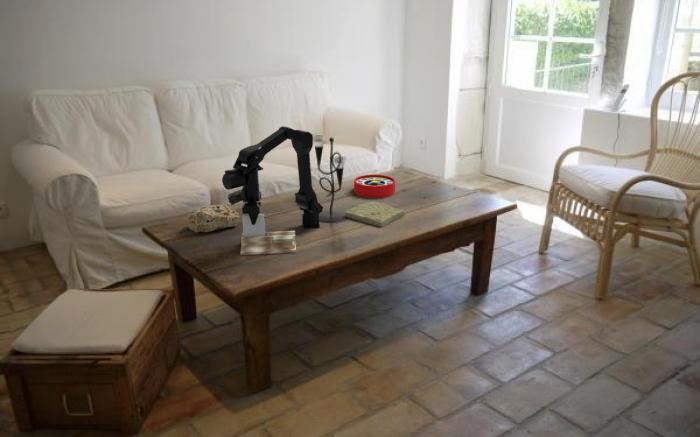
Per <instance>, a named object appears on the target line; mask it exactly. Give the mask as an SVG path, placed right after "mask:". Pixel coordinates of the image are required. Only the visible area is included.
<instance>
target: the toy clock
mask: <svg viewBox="0 0 700 437" xmlns="http://www.w3.org/2000/svg"><path fill="white" fill-rule="evenodd" d="M353 193H354V194H355V195H357V196H359V197H364V198H369V199H370V198H371V199H375V198H376V199H377V198H386V197H391V196H392V195H393V196H394V194H395V193H396V179H395V178H394V177H392V176H389V175H385V174H364V175H360V176H356V177H355V178H354V179H353Z"/></svg>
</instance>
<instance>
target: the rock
mask: <svg viewBox="0 0 700 437" xmlns="http://www.w3.org/2000/svg"><path fill="white" fill-rule="evenodd" d="M187 218H188V230H190V231H192V232H194V233H199V232H202V233H208V232H212V231H218V230H223V229H226V228H232V227H237V226H238V223H239V219H240V213H238V211H236V210H235V209H234V208H233V207H232V206H231V204H223V203H220V204H208V205H203V206H202V205H201V206H199V207H198V208H196V209H195V210H193V211H192V212H191V213H190V214H189V215H188V217H187Z"/></svg>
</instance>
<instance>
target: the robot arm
mask: <svg viewBox="0 0 700 437" xmlns="http://www.w3.org/2000/svg"><path fill="white" fill-rule="evenodd" d="M287 140H290V142H291V145H292V149H293V150H294V152H295V153H296V159H297V160H296V162H297V171H298V172H297V173H298V182H299V189H298V191H297V192H295V193H294V198H295V201H294V202H295V203H296V205H297V206H298V208H299V210H300V211H302V212H303V213H302V214H301V221H302V223H301V224H302V226H303V228H304V229H310V228H311V229H312V228H313V229H314V228H320V227H321V226H320V224H321V223H320V214H321V213H322V212H323V210H324V207H323V205H322V204H320V203H319V202H318V197H317V194H316V191H315V190H314V188H313V183H312V170H311V167H312V166H311V158H310V157H311V155H310V152H311V151H312V149H313V146H314V136H313V134H312V133H311V132H310V131H307V130H301V129H294V128H291V127H288V126H283V125H282V126H280V127H279V128H278V129H277V130H276V131H274V132H273V133H271V134H269V136H267V137H266V138H264V139H262V140H261V141H259V142H258V143H256V144H254V145H249V146H247V147H244V148H242V149H240V151H239V152H238V156H237V158H236V160H235V162H234V164H233V166H232V169H225V170H224V174H223V175H222V179H221V182H222V185H223V187H224V188H225V190H226V191H227V190H228V191H230V190H233V189H234V190H235V189H238V188H241V187H242V188H241V189H238V190H236V191H233V192H231V193H228V195H227V199H228V202H229V203H230V206H234V205H236V204H238V203H240V202H242V203H244V204H243V205H242V207H241V213H242V215H249V217H250V220H251V223H252V225H255V223H256V220H257V217H258V215H259V214H261V206H262V202H261V200H262V192H261V191H260V183H259V182H260V179H259V172H261V171H263V170H264V168H263V167H262V166H261V165H260V163H261V162H263V160H264V159H265V157H266V155H267V154H268V153H270V152H271V151H273V150H274V149H276V148H277V147H278V146H280V145H281V144H282V143H284V142H285V141H287ZM244 165H245V166H244Z"/></svg>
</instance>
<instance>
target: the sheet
mask: <svg viewBox="0 0 700 437" xmlns="http://www.w3.org/2000/svg"><path fill="white" fill-rule="evenodd" d="M241 218H242V233H243V235H244V237H254V236H265V232H266V224H265V223H266V222H265V213H259V215H258V217H257V220H256V223H255V225H252V223H251V220H250V217H249V214H242V215H241Z"/></svg>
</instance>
